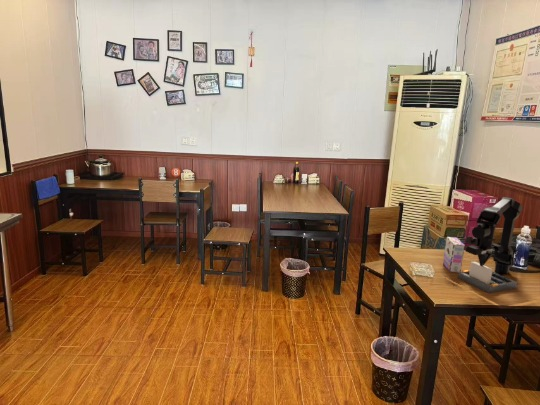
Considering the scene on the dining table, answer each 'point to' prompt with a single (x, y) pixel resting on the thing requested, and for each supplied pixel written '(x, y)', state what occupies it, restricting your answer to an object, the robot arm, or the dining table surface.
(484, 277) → the panel
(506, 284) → the rack
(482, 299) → the dining table surface
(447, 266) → the candy box
